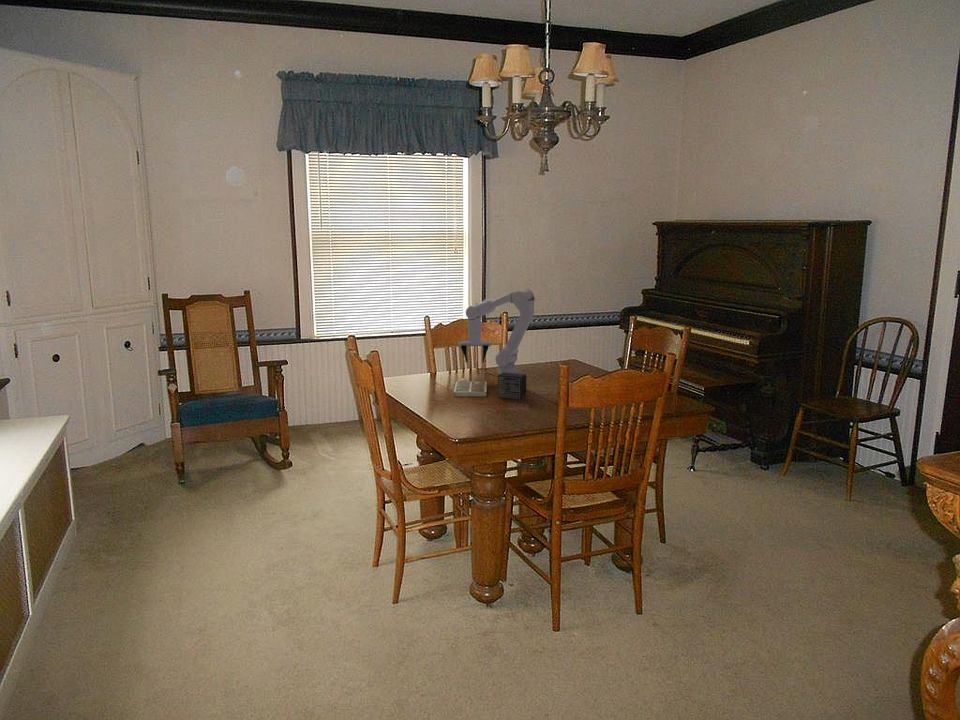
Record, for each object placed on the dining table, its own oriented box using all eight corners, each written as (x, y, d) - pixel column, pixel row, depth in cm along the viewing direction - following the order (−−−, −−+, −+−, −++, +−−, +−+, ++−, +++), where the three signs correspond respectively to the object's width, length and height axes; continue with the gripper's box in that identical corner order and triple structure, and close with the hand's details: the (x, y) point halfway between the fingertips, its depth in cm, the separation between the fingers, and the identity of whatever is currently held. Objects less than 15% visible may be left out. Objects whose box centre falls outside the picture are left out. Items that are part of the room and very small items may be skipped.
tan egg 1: (483, 385, 315) (483, 374, 314) (483, 388, 311) (483, 376, 310) (473, 386, 315) (473, 374, 314) (473, 388, 311) (473, 376, 310)
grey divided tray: (486, 387, 316) (486, 381, 316) (486, 398, 297) (486, 391, 296) (456, 387, 317) (455, 381, 316) (453, 398, 297) (453, 392, 297)
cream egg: (468, 389, 309) (468, 377, 308) (468, 391, 305) (468, 379, 304) (458, 389, 309) (458, 377, 308) (458, 391, 304) (458, 379, 303)
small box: (527, 398, 297) (527, 373, 295) (521, 402, 291) (521, 376, 289) (503, 396, 301) (503, 371, 299) (497, 399, 295) (497, 374, 293)
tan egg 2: (483, 392, 302) (482, 380, 301) (482, 395, 298) (482, 382, 297) (473, 392, 302) (472, 380, 301) (472, 395, 298) (472, 382, 297)
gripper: (490, 330, 326) (490, 360, 328) (458, 331, 326) (459, 360, 329) (490, 333, 319) (490, 363, 322) (458, 333, 319) (458, 363, 322)
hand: (474, 362), depth 325 cm, fingers open, 7 cm apart
